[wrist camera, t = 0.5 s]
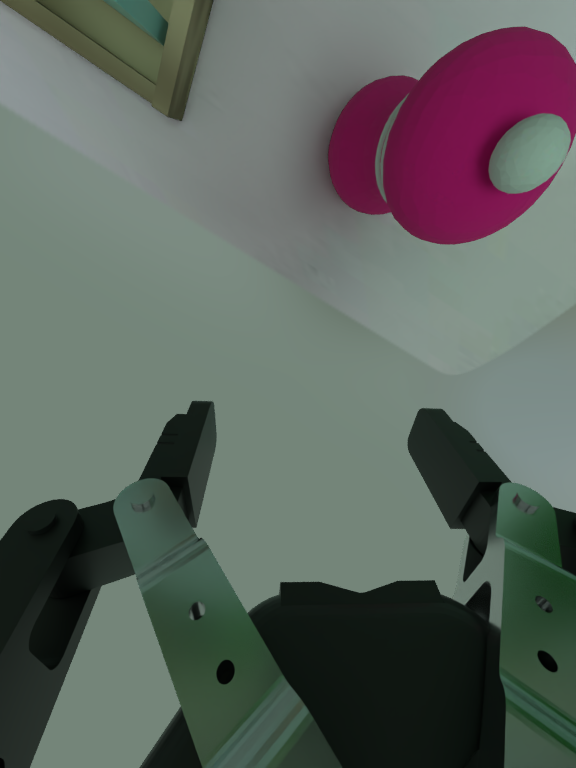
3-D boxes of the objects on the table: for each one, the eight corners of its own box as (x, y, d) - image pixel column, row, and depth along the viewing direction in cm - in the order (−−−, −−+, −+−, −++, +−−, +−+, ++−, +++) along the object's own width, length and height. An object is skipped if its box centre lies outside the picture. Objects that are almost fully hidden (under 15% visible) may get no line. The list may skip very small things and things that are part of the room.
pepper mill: (324, 211, 26) (393, 306, 10) (318, 98, 21) (430, -53, 5) (407, 198, 25) (617, 277, 10) (420, 79, 21) (858, -142, 5)
